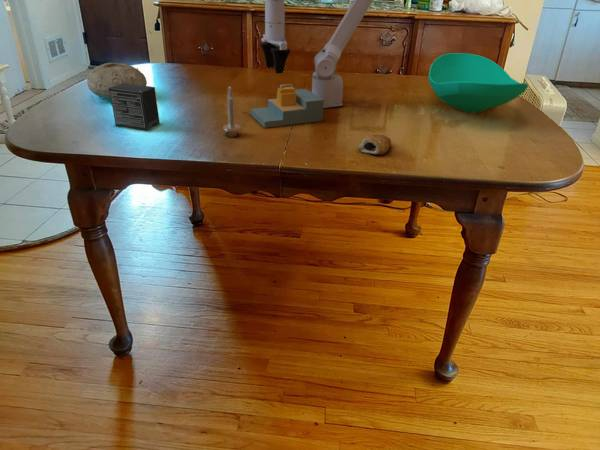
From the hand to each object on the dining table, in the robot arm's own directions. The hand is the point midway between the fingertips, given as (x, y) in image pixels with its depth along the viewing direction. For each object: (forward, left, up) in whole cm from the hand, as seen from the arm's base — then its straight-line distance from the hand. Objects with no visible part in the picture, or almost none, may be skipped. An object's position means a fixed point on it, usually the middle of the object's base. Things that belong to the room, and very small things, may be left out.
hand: (274, 70), depth 140 cm
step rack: (+2, +14, -10) cm, 18 cm away
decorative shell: (+45, -22, -11) cm, 51 cm away
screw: (+21, +22, -11) cm, 32 cm away
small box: (+43, +6, -11) cm, 45 cm away
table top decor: (-57, +26, -11) cm, 63 cm away
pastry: (-10, +44, -11) cm, 46 cm away
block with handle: (+2, +14, -6) cm, 16 cm away
